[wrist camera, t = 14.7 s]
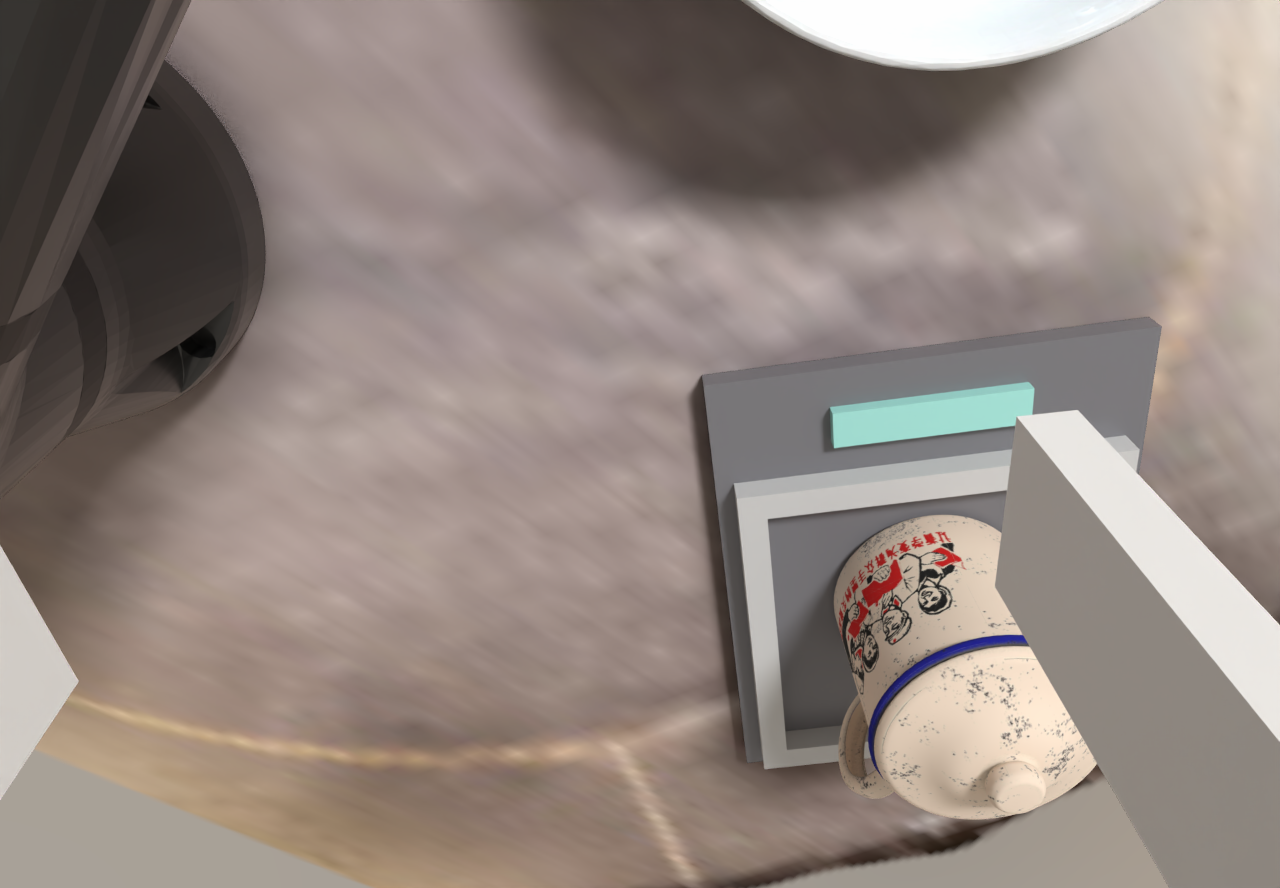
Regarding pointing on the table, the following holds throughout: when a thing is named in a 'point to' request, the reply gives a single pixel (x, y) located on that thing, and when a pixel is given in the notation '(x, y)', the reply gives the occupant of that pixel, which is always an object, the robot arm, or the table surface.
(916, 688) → the teacup with lid
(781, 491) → the base
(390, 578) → the table surface
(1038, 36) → the serving bowl
